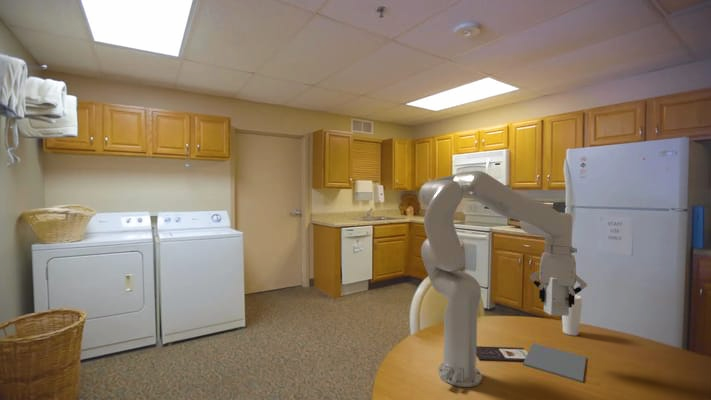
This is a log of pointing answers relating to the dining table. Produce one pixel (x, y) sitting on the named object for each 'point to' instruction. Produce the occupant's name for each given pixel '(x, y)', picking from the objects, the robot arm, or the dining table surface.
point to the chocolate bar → (501, 354)
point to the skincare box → (556, 298)
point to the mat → (556, 362)
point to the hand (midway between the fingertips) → (556, 303)
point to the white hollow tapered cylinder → (572, 318)
